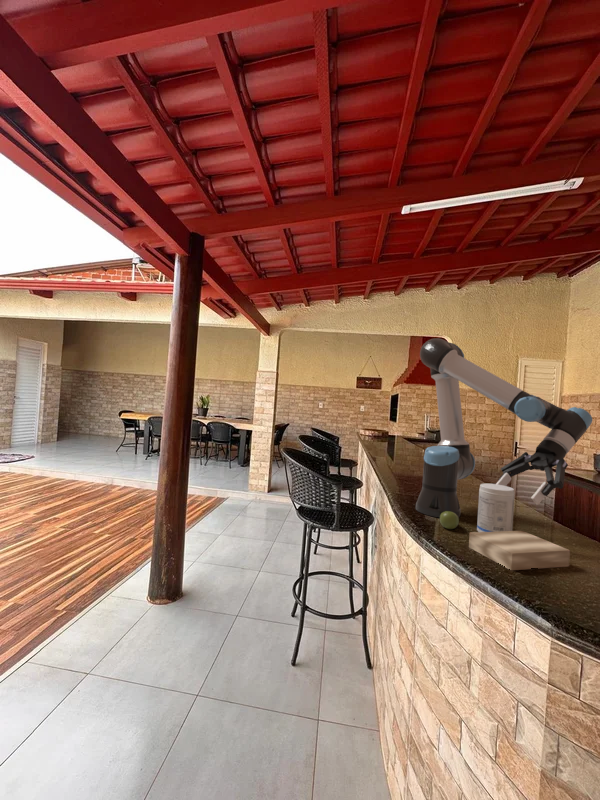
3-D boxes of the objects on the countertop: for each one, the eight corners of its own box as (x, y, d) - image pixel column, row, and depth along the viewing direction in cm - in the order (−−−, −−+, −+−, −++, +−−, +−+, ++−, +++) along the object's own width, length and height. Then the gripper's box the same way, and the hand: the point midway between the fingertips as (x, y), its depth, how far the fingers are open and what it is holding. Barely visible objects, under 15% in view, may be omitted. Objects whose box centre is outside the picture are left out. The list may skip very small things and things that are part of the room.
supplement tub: (489, 528, 120) (492, 482, 120) (518, 538, 112) (522, 489, 112) (469, 531, 116) (472, 483, 116) (498, 542, 107) (502, 491, 107)
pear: (440, 510, 116) (440, 508, 126) (439, 528, 116) (439, 524, 125) (459, 513, 114) (458, 511, 123) (458, 531, 113) (457, 527, 123)
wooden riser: (468, 547, 102) (469, 532, 102) (521, 544, 107) (522, 530, 107) (511, 570, 88) (512, 553, 88) (568, 566, 93) (569, 550, 93)
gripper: (601, 462, 107) (559, 516, 103) (526, 450, 131) (489, 493, 127) (589, 443, 106) (545, 497, 101) (515, 434, 130) (477, 477, 125)
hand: (514, 495), depth 114 cm, fingers open, 13 cm apart
